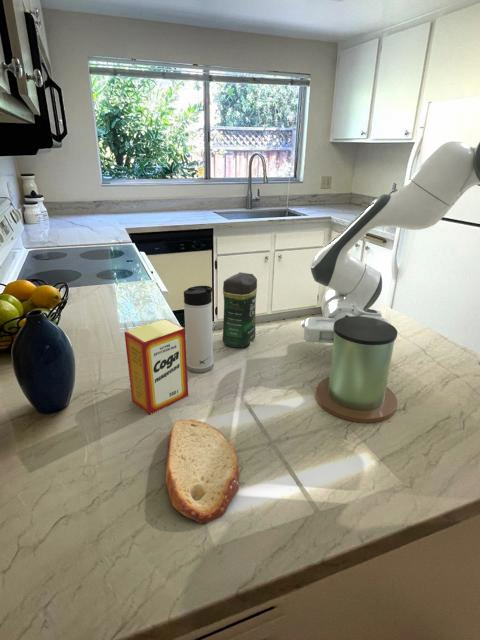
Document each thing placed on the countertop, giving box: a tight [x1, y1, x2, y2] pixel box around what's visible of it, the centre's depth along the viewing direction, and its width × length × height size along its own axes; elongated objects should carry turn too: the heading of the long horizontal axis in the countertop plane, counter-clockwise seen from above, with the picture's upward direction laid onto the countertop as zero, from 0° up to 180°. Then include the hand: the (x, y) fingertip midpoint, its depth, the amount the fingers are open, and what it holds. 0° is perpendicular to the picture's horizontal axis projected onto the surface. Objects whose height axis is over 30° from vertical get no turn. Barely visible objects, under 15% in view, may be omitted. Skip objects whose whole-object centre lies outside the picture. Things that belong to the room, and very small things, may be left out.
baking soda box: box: [123, 318, 189, 415], centre depth 81 cm, size 10×6×16 cm
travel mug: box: [183, 285, 214, 374], centre depth 92 cm, size 6×7×20 cm
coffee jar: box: [222, 271, 258, 349], centre depth 106 cm, size 10×8×19 cm
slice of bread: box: [165, 419, 240, 524], centre depth 65 cm, size 18×18×4 cm
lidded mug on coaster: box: [314, 316, 398, 424], centre depth 80 cm, size 16×18×16 cm
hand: (353, 346), depth 86 cm, fingers closed on lidded mug on coaster, 2 cm apart
